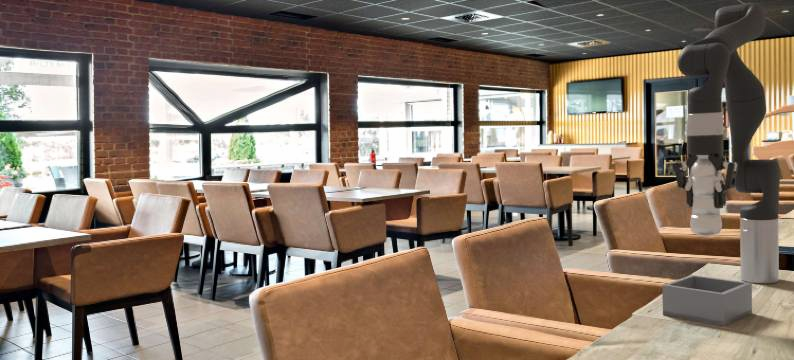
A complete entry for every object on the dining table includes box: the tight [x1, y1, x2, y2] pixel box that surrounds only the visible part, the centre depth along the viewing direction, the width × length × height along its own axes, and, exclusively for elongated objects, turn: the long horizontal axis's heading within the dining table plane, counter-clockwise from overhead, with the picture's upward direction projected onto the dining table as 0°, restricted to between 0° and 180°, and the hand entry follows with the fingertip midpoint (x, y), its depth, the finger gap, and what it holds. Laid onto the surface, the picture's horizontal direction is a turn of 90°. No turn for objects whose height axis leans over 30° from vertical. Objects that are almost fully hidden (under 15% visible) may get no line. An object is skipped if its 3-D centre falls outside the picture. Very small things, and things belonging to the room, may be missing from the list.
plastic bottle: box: [689, 155, 723, 237], centre depth 153 cm, size 6×7×20 cm
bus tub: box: [661, 274, 753, 327], centre depth 154 cm, size 14×14×7 cm
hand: (705, 207), depth 153 cm, fingers closed on plastic bottle, 5 cm apart
